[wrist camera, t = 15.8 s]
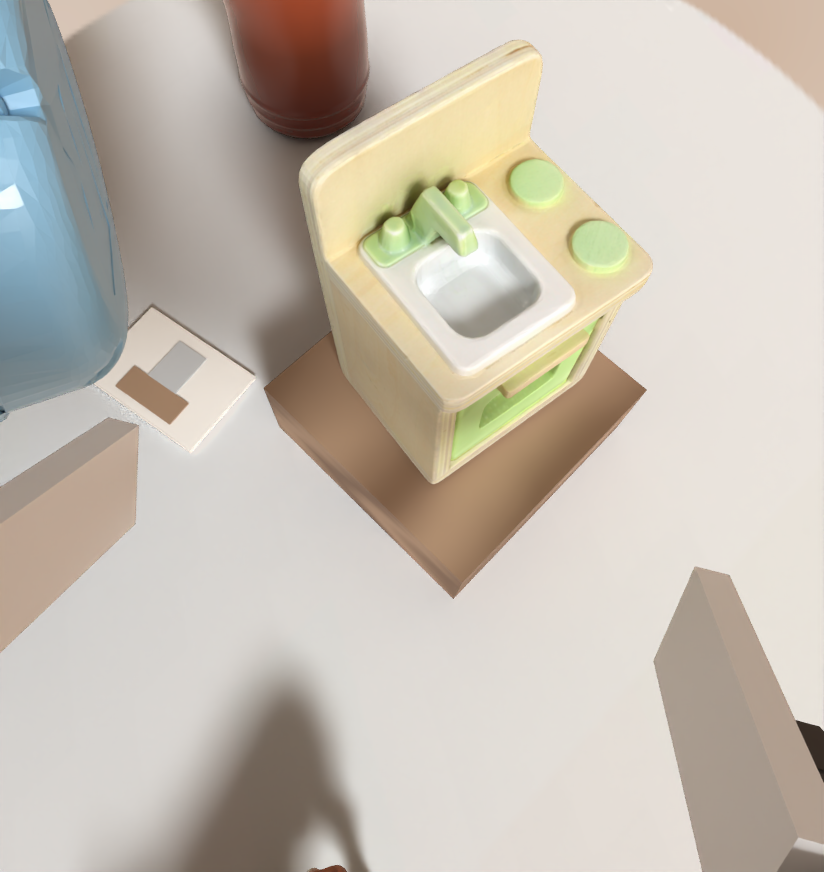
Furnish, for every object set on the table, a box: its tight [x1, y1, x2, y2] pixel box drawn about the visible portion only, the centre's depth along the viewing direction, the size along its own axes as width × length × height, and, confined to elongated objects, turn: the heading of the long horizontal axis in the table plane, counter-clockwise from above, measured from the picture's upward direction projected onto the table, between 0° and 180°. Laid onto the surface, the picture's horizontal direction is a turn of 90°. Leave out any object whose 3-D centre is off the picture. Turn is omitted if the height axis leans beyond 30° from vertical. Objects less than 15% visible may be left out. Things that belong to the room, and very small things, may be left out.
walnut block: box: [264, 331, 646, 599], centre depth 33 cm, size 12×12×5 cm
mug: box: [222, 0, 370, 138], centre depth 38 cm, size 12×9×10 cm
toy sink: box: [299, 40, 653, 484], centre depth 25 cm, size 8×7×13 cm
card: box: [93, 307, 256, 453], centre depth 35 cm, size 7×5×1 cm
